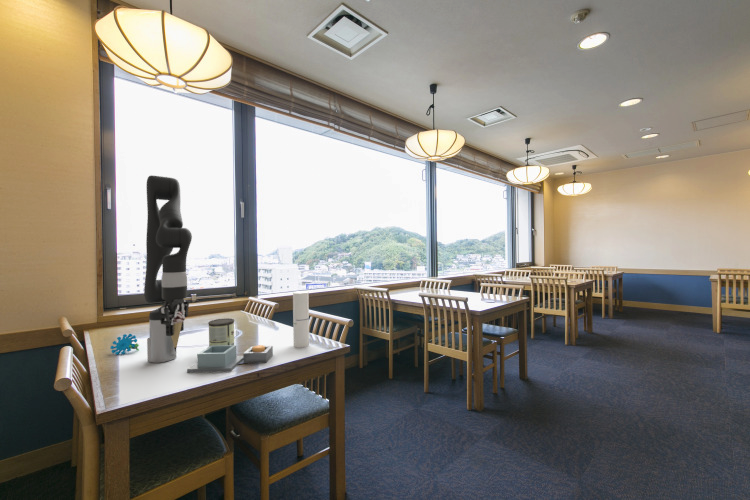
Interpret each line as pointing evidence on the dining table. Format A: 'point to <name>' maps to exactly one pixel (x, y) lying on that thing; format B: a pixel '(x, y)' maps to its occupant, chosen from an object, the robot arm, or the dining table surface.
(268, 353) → the button housing
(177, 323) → the ice cream cone
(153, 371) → the dining table surface
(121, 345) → the blue knobby piece
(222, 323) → the coffee can
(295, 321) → the cylindrical container
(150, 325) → the robot arm
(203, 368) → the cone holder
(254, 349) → the button
